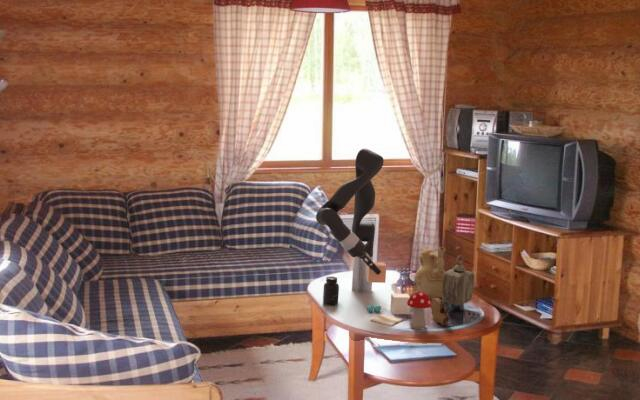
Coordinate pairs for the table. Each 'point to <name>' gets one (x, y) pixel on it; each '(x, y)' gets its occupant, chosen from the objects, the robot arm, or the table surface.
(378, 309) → the teal marble
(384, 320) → the birch coaster
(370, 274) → the peach rectangular brick
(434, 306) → the wooden carving
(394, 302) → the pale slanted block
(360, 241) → the robot arm
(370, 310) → the teal marble
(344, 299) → the table surface
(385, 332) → the table surface
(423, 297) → the decorative mushroom
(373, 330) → the table surface
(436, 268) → the tan upright figure
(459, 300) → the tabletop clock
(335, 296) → the supplement bottle
